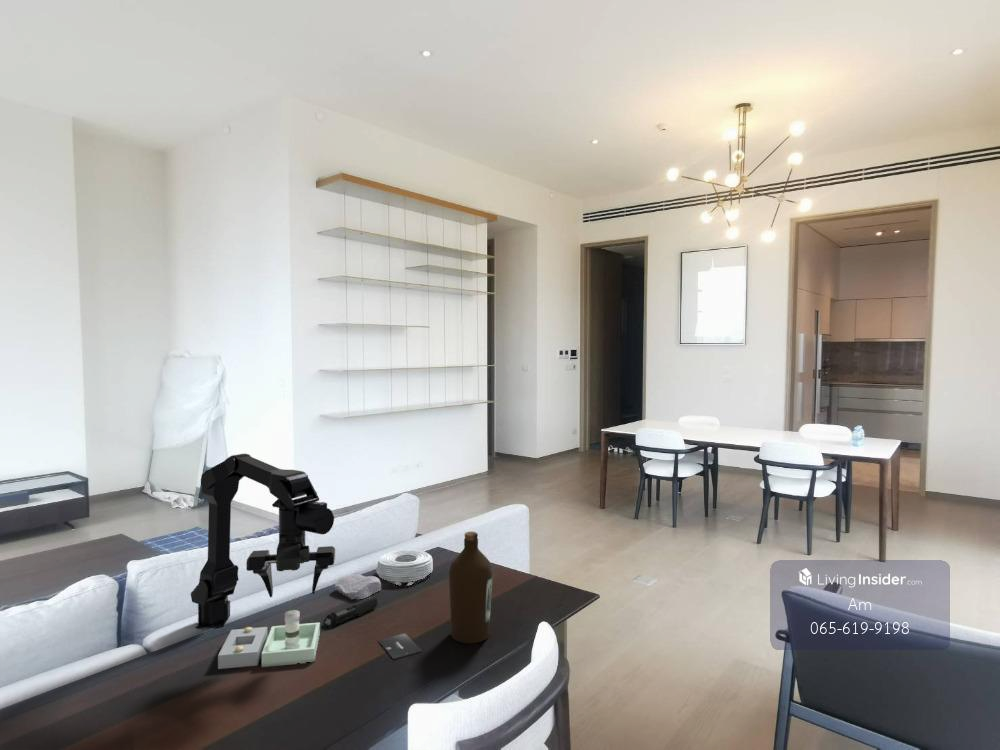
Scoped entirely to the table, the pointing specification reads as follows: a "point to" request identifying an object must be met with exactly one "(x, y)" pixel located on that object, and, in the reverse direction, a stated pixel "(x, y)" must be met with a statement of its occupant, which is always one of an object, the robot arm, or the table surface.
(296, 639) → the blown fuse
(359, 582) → the stone block
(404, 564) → the cable
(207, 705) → the table surface
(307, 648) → the tray
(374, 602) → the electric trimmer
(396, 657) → the solid state drive
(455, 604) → the olive oil
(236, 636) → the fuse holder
